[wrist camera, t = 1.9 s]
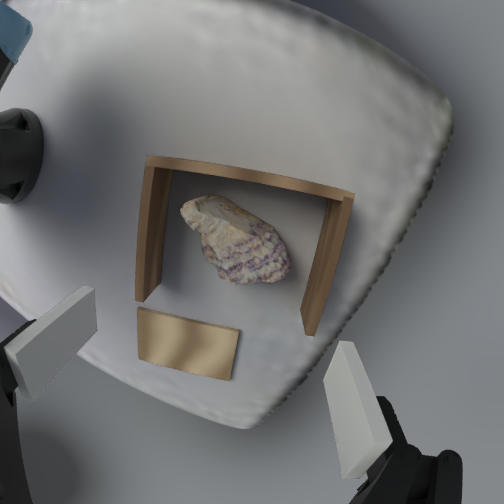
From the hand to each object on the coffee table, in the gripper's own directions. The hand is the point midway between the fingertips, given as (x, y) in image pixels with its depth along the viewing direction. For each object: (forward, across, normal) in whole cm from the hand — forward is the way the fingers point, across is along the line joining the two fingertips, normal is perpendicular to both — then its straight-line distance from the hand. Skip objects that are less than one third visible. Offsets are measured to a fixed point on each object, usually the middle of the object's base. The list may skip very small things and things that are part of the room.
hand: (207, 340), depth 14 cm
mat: (+20, -5, -16) cm, 27 cm away
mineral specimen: (+21, 0, 0) cm, 21 cm away
